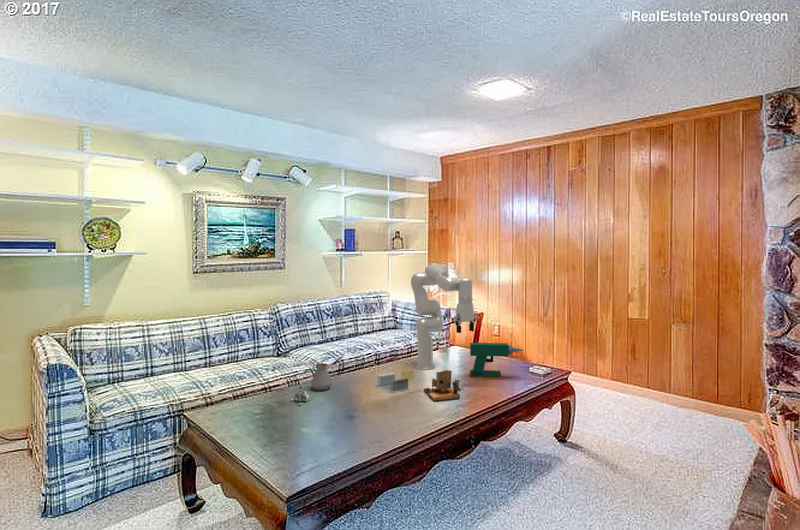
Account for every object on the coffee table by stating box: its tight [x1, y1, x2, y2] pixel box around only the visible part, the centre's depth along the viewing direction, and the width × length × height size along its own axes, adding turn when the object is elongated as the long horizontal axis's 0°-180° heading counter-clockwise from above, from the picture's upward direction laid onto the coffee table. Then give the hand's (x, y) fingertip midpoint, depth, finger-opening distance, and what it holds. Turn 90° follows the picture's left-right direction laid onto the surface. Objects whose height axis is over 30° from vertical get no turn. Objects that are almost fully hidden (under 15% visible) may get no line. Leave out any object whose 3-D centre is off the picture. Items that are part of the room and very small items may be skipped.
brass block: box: [400, 368, 415, 382], centre depth 260 cm, size 4×6×6 cm, turn 125°
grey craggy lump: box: [291, 383, 311, 405], centre depth 225 cm, size 9×9×8 cm
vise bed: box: [376, 378, 410, 394], centre depth 246 cm, size 16×11×6 cm
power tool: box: [468, 342, 524, 380], centre depth 266 cm, size 32×7×20 cm, turn 84°
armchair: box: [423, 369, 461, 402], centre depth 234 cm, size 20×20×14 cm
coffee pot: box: [310, 356, 345, 391], centre depth 249 cm, size 21×12×15 cm, turn 138°
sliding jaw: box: [377, 372, 396, 385], centre depth 251 cm, size 3×10×5 cm, turn 125°
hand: (465, 331), depth 250 cm, fingers open, 9 cm apart
